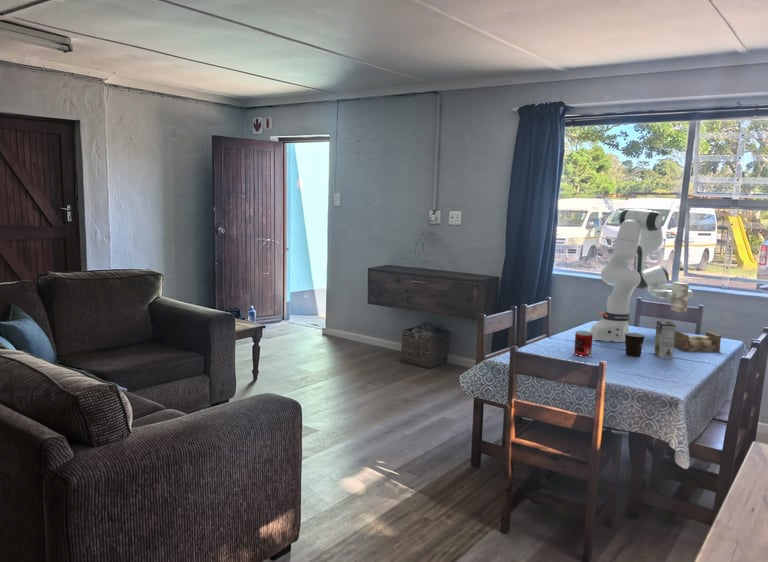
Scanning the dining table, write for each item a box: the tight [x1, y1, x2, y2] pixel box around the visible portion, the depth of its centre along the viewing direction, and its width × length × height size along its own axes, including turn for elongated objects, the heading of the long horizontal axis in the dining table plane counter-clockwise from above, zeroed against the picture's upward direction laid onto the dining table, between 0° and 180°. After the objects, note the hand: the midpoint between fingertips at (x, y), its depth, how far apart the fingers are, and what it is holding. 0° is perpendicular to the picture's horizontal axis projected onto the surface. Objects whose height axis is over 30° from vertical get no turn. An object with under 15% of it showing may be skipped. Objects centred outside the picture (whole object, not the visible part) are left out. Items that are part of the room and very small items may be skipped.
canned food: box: [573, 330, 593, 356], centre depth 272 cm, size 8×8×11 cm
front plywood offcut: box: [688, 340, 712, 345], centre depth 286 cm, size 11×2×5 cm, turn 90°
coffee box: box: [654, 320, 676, 359], centre depth 273 cm, size 9×6×16 cm
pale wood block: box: [670, 281, 690, 313], centre depth 306 cm, size 4×8×15 cm, turn 0°
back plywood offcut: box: [688, 335, 709, 340], centre depth 289 cm, size 11×2×6 cm, turn 90°
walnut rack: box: [674, 330, 722, 352], centre depth 288 cm, size 18×10×8 cm, turn 90°
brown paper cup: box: [624, 332, 645, 358], centre depth 274 cm, size 12×9×10 cm
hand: (679, 295), depth 306 cm, fingers closed on pale wood block, 4 cm apart
